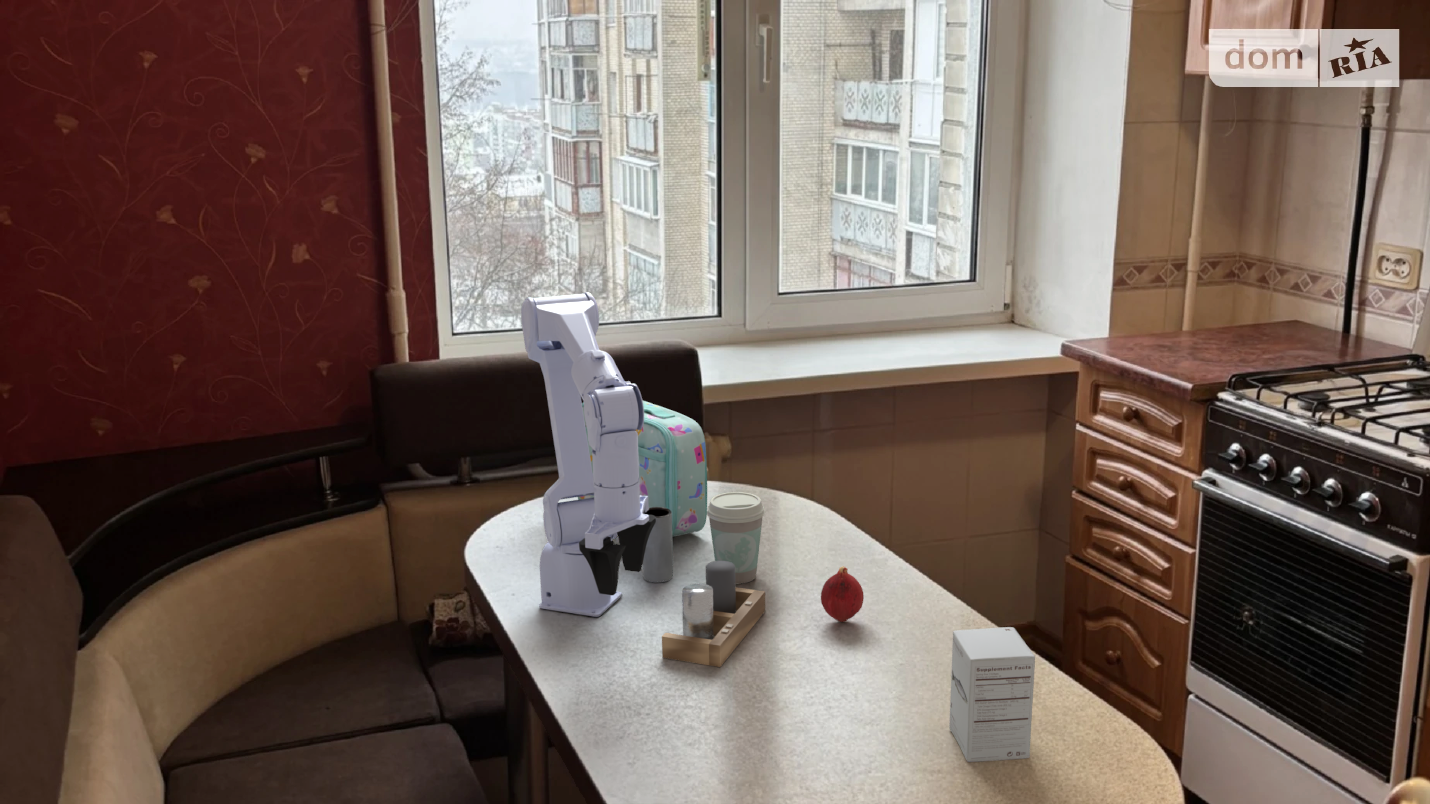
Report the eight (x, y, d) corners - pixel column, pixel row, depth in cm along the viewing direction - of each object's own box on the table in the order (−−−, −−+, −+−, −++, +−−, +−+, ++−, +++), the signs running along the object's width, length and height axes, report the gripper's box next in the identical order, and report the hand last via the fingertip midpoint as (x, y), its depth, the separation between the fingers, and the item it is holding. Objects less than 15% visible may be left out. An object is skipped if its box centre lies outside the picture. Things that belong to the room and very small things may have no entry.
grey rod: (679, 651, 166) (678, 594, 163) (687, 637, 169) (686, 582, 167) (709, 654, 165) (708, 597, 163) (716, 640, 168) (716, 584, 166)
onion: (861, 632, 170) (862, 577, 168) (818, 629, 171) (818, 574, 169) (865, 614, 175) (865, 560, 173) (823, 611, 177) (823, 558, 174)
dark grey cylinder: (703, 625, 173) (701, 571, 171) (711, 611, 177) (710, 559, 174) (731, 628, 172) (730, 574, 170) (739, 615, 176) (738, 562, 173)
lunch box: (564, 512, 217) (558, 391, 211) (612, 497, 223) (607, 379, 218) (666, 554, 198) (662, 422, 192) (715, 537, 204) (712, 409, 199)
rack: (662, 657, 164) (661, 635, 163) (711, 603, 180) (711, 582, 179) (720, 667, 161) (719, 644, 160) (765, 611, 177) (765, 590, 176)
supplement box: (947, 729, 146) (951, 628, 142) (1010, 725, 146) (1015, 625, 143) (965, 764, 139) (969, 658, 135) (1031, 759, 139) (1037, 655, 136)
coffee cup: (699, 583, 187) (697, 506, 183) (720, 561, 194) (719, 487, 191) (753, 591, 183) (752, 513, 180) (773, 569, 191) (772, 494, 188)
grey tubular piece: (677, 572, 190) (676, 508, 188) (666, 584, 186) (664, 518, 184) (649, 569, 192) (647, 505, 189) (638, 580, 188) (636, 515, 185)
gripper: (620, 503, 150) (624, 608, 154) (668, 466, 163) (671, 564, 167) (567, 496, 153) (572, 600, 156) (619, 461, 166) (622, 557, 169)
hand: (620, 581), depth 162 cm, fingers open, 7 cm apart
